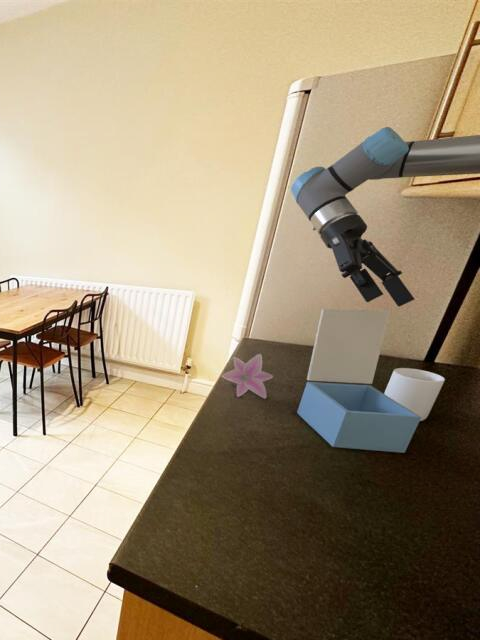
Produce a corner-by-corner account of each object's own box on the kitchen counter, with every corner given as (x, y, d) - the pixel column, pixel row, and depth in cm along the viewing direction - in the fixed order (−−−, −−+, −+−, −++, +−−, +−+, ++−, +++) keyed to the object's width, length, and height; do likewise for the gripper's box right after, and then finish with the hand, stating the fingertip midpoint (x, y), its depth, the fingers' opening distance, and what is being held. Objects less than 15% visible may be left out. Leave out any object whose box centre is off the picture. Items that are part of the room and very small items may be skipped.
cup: (381, 416, 98) (398, 377, 94) (371, 397, 107) (386, 361, 103) (431, 425, 93) (450, 384, 89) (416, 404, 103) (433, 366, 98)
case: (404, 452, 84) (421, 417, 81) (332, 446, 87) (346, 412, 83) (357, 417, 98) (370, 385, 94) (296, 412, 101) (307, 381, 97)
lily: (208, 393, 114) (226, 372, 106) (219, 366, 120) (236, 344, 112) (254, 414, 110) (276, 393, 102) (262, 385, 116) (284, 363, 108)
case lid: (390, 310, 90) (388, 310, 91) (323, 309, 93) (321, 309, 93) (372, 383, 94) (369, 383, 95) (308, 380, 97) (306, 379, 97)
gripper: (348, 243, 104) (397, 314, 96) (290, 229, 94) (339, 306, 86) (384, 221, 98) (440, 294, 90) (326, 203, 88) (382, 284, 79)
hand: (391, 300), depth 88 cm, fingers open, 13 cm apart
